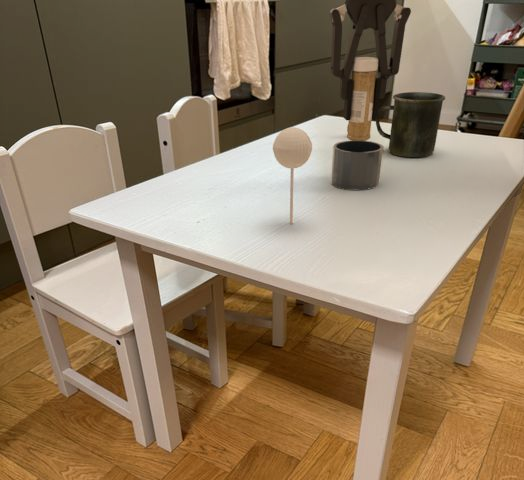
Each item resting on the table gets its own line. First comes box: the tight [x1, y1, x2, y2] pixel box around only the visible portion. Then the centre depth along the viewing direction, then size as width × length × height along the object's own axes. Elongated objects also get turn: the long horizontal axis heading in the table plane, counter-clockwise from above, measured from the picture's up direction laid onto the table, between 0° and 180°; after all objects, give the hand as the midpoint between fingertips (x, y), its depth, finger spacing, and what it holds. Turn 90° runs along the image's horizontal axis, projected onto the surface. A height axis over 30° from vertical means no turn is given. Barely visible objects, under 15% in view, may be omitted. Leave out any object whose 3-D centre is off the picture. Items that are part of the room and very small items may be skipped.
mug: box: [375, 91, 446, 158], centre depth 114 cm, size 11×15×12 cm
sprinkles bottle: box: [346, 56, 378, 141], centre depth 91 cm, size 5×5×13 cm
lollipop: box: [272, 126, 313, 225], centre depth 79 cm, size 6×6×15 cm
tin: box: [331, 140, 384, 190], centre depth 98 cm, size 9×9×7 cm
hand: (360, 118), depth 93 cm, fingers closed on sprinkles bottle, 4 cm apart
